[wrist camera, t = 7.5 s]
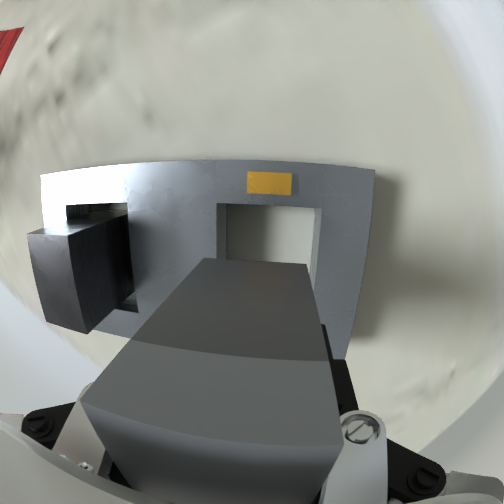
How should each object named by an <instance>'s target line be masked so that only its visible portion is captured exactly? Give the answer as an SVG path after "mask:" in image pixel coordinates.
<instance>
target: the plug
mask: <svg viewBox="0 0 504 504" xmlns="http://www.w3.org/2000/svg"><path fill="white" fill-rule="evenodd" d="M79 401H80V403H81V405H82V407H83V409H84V411H85V413H86V415H87V417H88V419H89V421H90V423H91V424H92V426H93V428H94V430H95V432H96V433H97V435H98V437H99V439H100V440H101V442H102V444H103V445H104V447H105V449H106V450H107V452H108V454H109V455H110V457H111V458H112V460H113V461H114V463H115V464H116V466H117V467H118V469H119V470H120V472H121V473H122V475H123V476H124V477H125V479H126V480H127V481H128V483H129V484H130V486H131V487H132V488H133V490H136V491H138V492H141V493H144V494H147V495H150V496H154V497H157V498H160V499H164V500H167V501H171V502H175V503H179V504H311V503H312V502H313V500H314V498H315V497H316V495H317V494H318V492H319V490H320V489H321V487H322V485H323V484H324V482H325V480H326V478H327V477H328V475H329V473H330V471H331V469H332V468H333V466H334V464H335V462H336V460H337V458H338V456H339V454H340V452H341V450H342V448H343V446H344V440H343V433H342V427H341V421H340V416H339V410H338V404H337V399H336V394H335V388H334V383H333V378H332V373H331V368H330V363H329V359H328V354H327V349H326V345H325V340H324V336H323V331H322V327H321V322H320V318H319V314H318V309H317V305H316V301H315V297H314V293H313V289H312V285H311V281H310V277H309V273H308V269H307V265H306V264H298V263H281V262H264V261H248V260H232V259H217V258H203V259H202V260H201V261H200V262H199V263H198V265H197V266H196V267H195V268H194V269H193V270H192V271H191V272H190V273H189V274H188V275H187V276H186V278H185V279H184V280H183V281H182V282H181V283H180V284H179V285H178V286H177V287H176V289H175V290H174V291H173V292H172V293H171V294H170V295H169V296H168V297H167V298H166V300H165V301H164V302H163V303H162V304H161V305H160V306H159V307H158V309H157V310H156V311H155V312H154V313H153V314H152V315H151V316H150V318H149V319H148V320H147V321H146V322H145V323H144V324H143V325H142V327H141V328H140V329H139V330H138V331H137V332H136V333H135V335H134V336H133V337H132V338H131V339H130V340H129V341H128V343H127V344H126V345H125V346H124V347H123V348H122V350H121V351H120V352H119V353H118V354H117V355H116V357H115V358H114V359H113V360H112V361H111V362H110V364H109V365H108V366H107V367H106V368H105V370H104V371H103V372H102V373H101V374H100V376H99V377H98V378H97V379H96V380H95V382H94V383H93V384H92V385H91V386H90V388H89V389H88V390H87V391H86V392H85V394H84V395H83V396H82V397H81V399H80V400H79Z"/></svg>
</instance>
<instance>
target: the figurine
mask: <svg viewBox="0 0 504 504" xmlns="http://www.w3.org/2000/svg"><path fill="white" fill-rule="evenodd" d="M23 28H24V27H22V28H16V29H12V30H7V31H0V73H1V71H2V68H3V66H4V64H5V62H6V60H7V58H8V56H9V53H10V51H11V49H12V48H13V46H14V44H15V42H16V40H17V38H18V36H19V35H20V33H21V31H22V29H23Z"/></svg>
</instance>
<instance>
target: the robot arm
mask: <svg viewBox="0 0 504 504" xmlns="http://www.w3.org/2000/svg"><path fill="white" fill-rule="evenodd" d="M321 327H322V331H323V336H324V340H325V345H326V349H327V354H328V359H329V363H330V368H331V373H332V378H333V383H334V388H335V394H336V399H337V404H338V410H339V416H340V421H341V427H342V433H343V440H344V446H343V448H342V450H341V452H340V454H339V456H338V458H337V460H336V462H335V464H334V466H333V468H332V469H331V471H330V473H329V475H328V477H327V478H326V480H325V482H324V484H323V485H322V487H321V489H320V490H319V492H318V494H317V495H316V497H315V498H314V500H313V502H312V503H311V504H503V499H504V485H503V483H502V482H501V481H500V480H499V479H498V478H495V477H488V476H480V475H473V474H466V473H461V472H455V471H451V472H450V473H445V471H444V469H443V468H442V467H441V466H440V465H439V464H437V463H436V462H433V461H432V460H429V459H427V458H425V457H423V456H421V455H419V454H417V453H415V452H413V451H411V450H409V449H407V448H405V447H403V446H401V445H399V444H397V443H395V442H393V441H391V440H389V439H387V438H386V428H385V424H384V423H383V421H382V420H381V418H379V417H378V416H377V415H375V414H373V413H371V412H369V411H363V410H359V408H358V404H357V401H356V397H355V393H354V389H353V385H352V382H351V378H350V374H349V371H348V367H347V364H346V361H345V360H344V359H333V355H332V351H331V347H330V342H329V338H328V334H327V330H326V326H325V324H321ZM93 383H94V382H92V383H90V384H89V385H87V386H86V387H85V388H84V389H83V390H82V392H81V394H80V395H79V397H78V399H77V401H76V402H73V403H68V404H64V405H59V406H55V407H50V408H45V409H39V410H35V411H32V412H30V413H29V414H27V415H26V417H24V415H23V414H22V415H21V414H2V413H0V504H179V503H175V502H171V501H167V500H164V499H160V498H157V497H154V496H150V495H147V494H144V493H141V492H138V491H136V490H133V488H132V487H131V486H130V484H129V483H128V481H127V480H126V479H125V477H124V476H123V475H122V473H121V472H120V470H119V469H118V467H117V466H116V464H115V463H114V461H113V460H112V458H111V457H110V455H109V454H108V452H107V450H106V449H105V447H104V445H103V444H102V442H101V440H100V439H99V437H98V435H97V433H96V432H95V430H94V428H93V426H92V424H91V423H90V421H89V419H88V417H87V415H86V413H85V411H84V409H83V407H82V405H81V403H80V401H79V400H80V399H81V397H82V396H83V395H84V394H85V392H86V391H87V390H88V389H89V388H90V386H91V385H92V384H93Z"/></svg>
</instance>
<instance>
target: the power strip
mask: <svg viewBox="0 0 504 504" xmlns="http://www.w3.org/2000/svg"><path fill="white" fill-rule="evenodd" d="M374 177H375V170H372V169H364V168H356V167H347V166H337V165H327V164H315V163H302V162H286V161H263V160H183V161H161V162H146V163H133V164H121V165H111V166H102V167H94V168H86V169H78V170H71V171H65V172H58V173H52V174H47V175H41V189H42V206H43V217H44V227H45V228H42V229H39V230H36V231H33V232H31V233H28V234H27V239H28V245H29V251H30V257H31V263H32V268H33V272H34V277H35V282H36V286H37V290H38V294H39V298H40V302H41V305H42V309H43V312H44V316H45V319H46V322H49V323H52V324H55V325H58V326H61V327H64V328H67V329H71V330H74V331H77V332H81V333H84V334H88V333H89V332H90V331H92V330H93V329H94V330H98V331H102V332H106V333H110V334H114V335H118V336H122V337H127V338H132V337H133V336H134V335H135V333H136V332H137V331H138V330H139V329H140V328H141V327H142V325H143V324H144V323H145V322H146V321H147V320H148V319H149V318H150V316H151V315H152V314H153V313H154V312H155V311H156V310H157V309H158V307H159V306H160V305H161V304H162V303H163V302H164V301H165V300H166V298H167V297H168V296H169V295H170V294H171V293H172V292H173V291H174V290H175V289H176V287H177V286H178V285H179V284H180V283H181V282H182V281H183V280H184V279H185V278H186V276H187V275H188V274H189V273H190V272H191V271H192V270H193V269H194V268H195V267H196V266H197V265H198V263H199V262H200V261H201V260H202V259H203V258H217V259H226V224H227V203H233V204H258V205H277V206H294V207H310V208H315V222H314V234H313V246H312V256H311V266H310V276H309V277H310V281H311V285H312V289H313V293H314V297H315V301H316V305H317V309H318V314H319V318H320V322H321V324H325V326H326V330H327V334H328V338H329V342H330V347H331V351H332V355H333V359H344V360H345V356H346V353H347V349H348V345H349V341H350V337H351V332H352V328H353V324H354V319H355V315H356V310H357V305H358V300H359V295H360V290H361V284H362V279H363V273H364V267H365V260H366V254H367V247H368V239H369V231H370V223H371V214H372V203H373V192H374ZM90 203H127V206H128V210H115V211H95V212H91V213H89V204H90ZM134 291H135V292H136V294H135V293H133V292H134Z"/></svg>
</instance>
